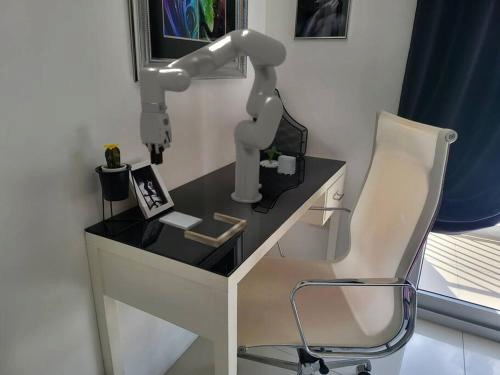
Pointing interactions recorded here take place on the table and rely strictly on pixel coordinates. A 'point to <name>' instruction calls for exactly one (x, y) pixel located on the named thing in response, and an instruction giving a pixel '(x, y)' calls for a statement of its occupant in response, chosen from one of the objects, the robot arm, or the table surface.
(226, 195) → the table surface
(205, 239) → the wooden frame
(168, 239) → the table surface
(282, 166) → the medicine box
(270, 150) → the potted plant
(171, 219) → the hard drive
